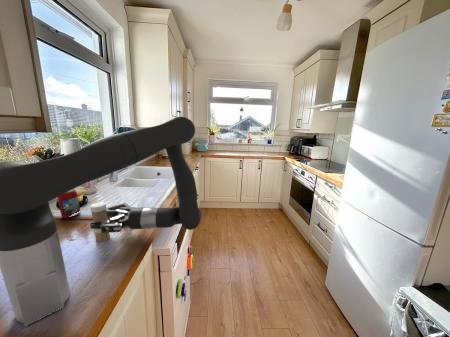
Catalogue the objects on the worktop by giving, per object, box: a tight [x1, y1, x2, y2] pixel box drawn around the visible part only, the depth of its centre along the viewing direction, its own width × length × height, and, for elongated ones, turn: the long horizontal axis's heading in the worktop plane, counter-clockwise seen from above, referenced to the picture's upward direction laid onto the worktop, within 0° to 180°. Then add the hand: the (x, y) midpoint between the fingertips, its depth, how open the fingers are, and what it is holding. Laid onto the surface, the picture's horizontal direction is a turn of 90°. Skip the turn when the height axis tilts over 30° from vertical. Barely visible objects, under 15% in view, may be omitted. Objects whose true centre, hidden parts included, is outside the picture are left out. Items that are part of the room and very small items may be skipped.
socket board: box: [106, 202, 131, 224], centre depth 83 cm, size 18×12×4 cm, turn 44°
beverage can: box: [57, 188, 81, 219], centre depth 84 cm, size 7×7×12 cm
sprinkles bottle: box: [89, 201, 111, 243], centre depth 67 cm, size 5×5×14 cm
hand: (98, 219), depth 67 cm, fingers open, 8 cm apart
